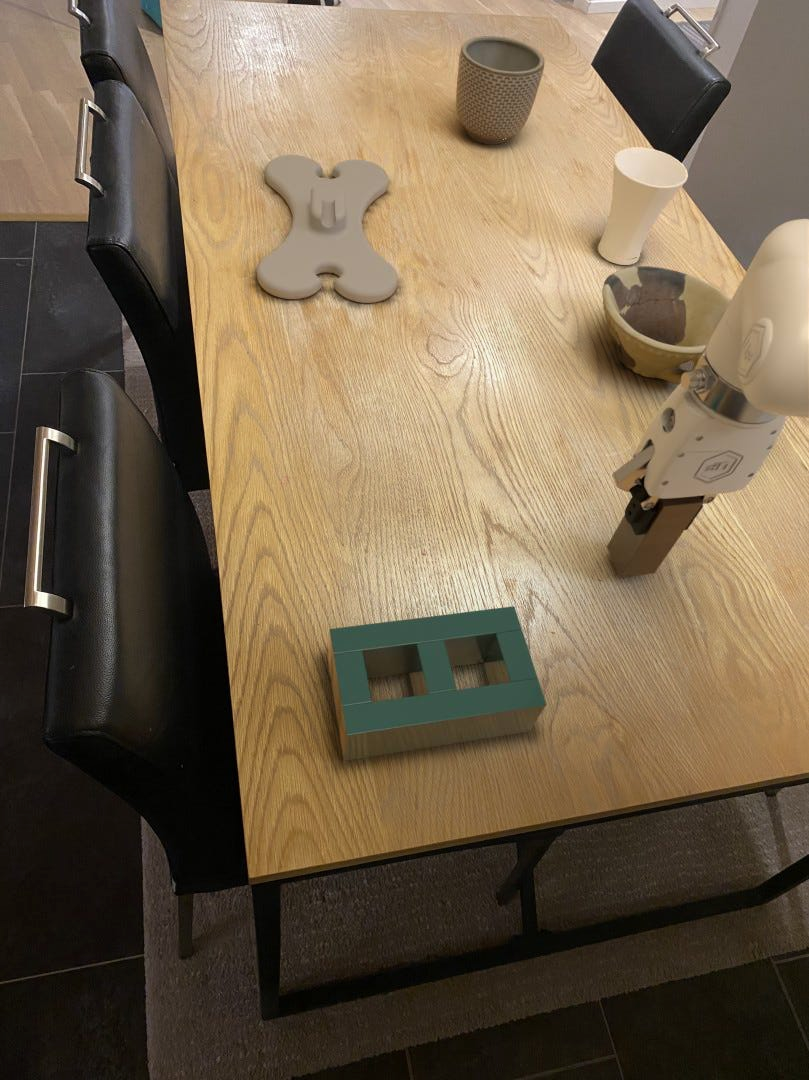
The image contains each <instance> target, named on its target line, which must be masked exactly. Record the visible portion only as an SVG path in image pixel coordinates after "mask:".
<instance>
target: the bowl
mask: <svg viewBox="0 0 809 1080" xmlns="http://www.w3.org/2000/svg"><path fill="white" fill-rule="evenodd" d="M601 290H602V291H601V292H602V295H601V297H602V305H603V311H604V318H605V321H606V325H607V326H608V329H609V331H610V332H609V333H610V334H611V336H612V337H613V338H614V339H615V341H616V343H617V347H616V352H617V353H616V354H617V357H618V359H619V361H620V362H621V363H622V364H623V365H624V366H625V367H626V368H627V369H629V370H632V372H633V373H635V374H638V375H640V376H643V377H645V378H657V379H660V380H664V381H666V382H669V383H672V384H675V385H679V384H680V383H681V377H682V375H683V373H684V372H691V371H692V370H693V369H694V367H695V365H696V364H697V362H698V360H699V358H700V356H701V354H702V353H703V351H704V349H705V347H706V345H707V343H708V341H709V340H710V338H711V336H712V334H713V332H714V330H715V329H716V327H717V325H718V323H719V321H720V319H721V318H722V316H723V314H724V312H725V310H726V308H727V307H728V305H729V303H730V301H731V299H732V298H730V297H728V295H726V294H725V293H724V292H723V291H721V290H720V289H718V288H717V287H715V286H713V285H711V284H709V283H707V282H706V281H704V280H701V279H699V278H698V277H696V276H694V275H690V274H687V273H684V272H681V271H678V270H674V269H669V268H664V267H660V266H658V267H657V266H650V265H648V266H647V265H642V266H641V265H639V266H631V267H625V268H622V269H620V270H617V271H615V272H613V273H612V274H610V275H608V276H607V278H605V280H604V281H603V286H602V289H601ZM690 361H692V363H693V367H692V369H691V370H686V369H683V368H680V365H683V364H685V363H687V362H690Z"/></svg>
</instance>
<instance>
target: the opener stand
mask: <svg viewBox="0 0 809 1080" xmlns="http://www.w3.org/2000/svg"><path fill="white" fill-rule="evenodd" d="M517 613H518V612H517V610H516V607H515V605H512V606H505V607H504V606H503V607H496V608H489V609H488V608H487V609H479V610H472V611H465V612H464V611H463V612H455V613H448V614H440V615H431V616H423V617H416V618H407V619H400V620H392V621H383V622H374V623H367V624H359V625H352V626H343V627H336V628H330V629H329V632H328V647H327V664H328V671H329V678H330V683H331V690H332V695H333V703H334V708H335V715H336V721H337V728H338V733H339V739H340V741H339V742H340V746H341V753H342V760H343V761H344V762H346V761H353V760H359V759H366V758H371V757H378V756H383V755H390V754H391V755H392V754H396V753H403V752H409V751H414V750H415V751H416V750H422V749H427V748H434V747H440V746H446V745H453V744H459V743H465V742H471V741H472V742H473V741H478V740H484V739H490V738H497V737H503V736H509V735H514V734H523V733H528V732H530V731H532V728H533V727H534V725H535V724H536V722H537V721H538V719H539V717H540V716H541V714H542V713H543V711H544V709H545V708H546V706H547V702H546V699H545V696H544V694H543V693H544V692H543V690H542V687H541V684H540V681H539V678H538V675H537V672H536V668H535V666H534V663H533V660H532V656H531V653H530V650H529V647H528V644H527V641H526V638H525V634H524V632H523V629H522V626H521V622H520V619H519V616H518V614H517ZM479 664H483V667H484V670H485V674H486V679H487V681H488V685H482V686H475V687H469V688H462V689H457V686H456V681H455V677H454V674H453V669H452V668H456V667H462V666H463V667H465V666H471V665H479ZM405 674H409V681H410V684H411V689H412V694H413V696H406V697H401V698H392V699H386V700H385V699H384V700H379V701H372V695H371V690H370V684H369V680H370V679H376V678H383V677H384V678H385V677H390V676H391V677H392V676H397V675H405Z"/></svg>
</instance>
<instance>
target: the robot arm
mask: <svg viewBox="0 0 809 1080" xmlns="http://www.w3.org/2000/svg"><path fill="white" fill-rule="evenodd" d="M730 299H731V301H730V303H729V305H728V307H727V308H726V310H725V312H724V314H723V316H722V318H721V319H720V321H719V323H718V325H717V327H716V329H715V330H714V332H713V334H712V336H711V338H710V340H709V341H708V343H707V345H706V347H705V349H704V351H703V353H702V354H701V356H700V358H699V360H698V362H697V364H696V365H695V367H694V366H693V368H694V369H693V368H692V369H693V370H692V369H691V370H692V371H691V370H690V371H691V372H684V373H683V375H682V377H681V383H680V384H677V386H676V387H675V389H674V390H673V391H672V393H670V395H669V396H668V397H667V398H666V400H665V401H664V402H663V404H662V405H661V407H660V408H659V410H658V411H657V412H656V413H655V415H654V417H653V418H652V419H651V421H650V423H649V424H648V426H647V428H646V430H645V431H644V433H643V435H642V437H641V438H640V440H639V442H638V444H637V446H636V448H635V450H634V453H633V456H632V458H631V459H630V460H628V461H627V462H625V464H623V465H622V466H620V467H619V468H618V469H616V470H615V471H614V472H613V473H612V474H611V478H612V480H613V482H614V484H615V486H616V488H618V489H619V490H621V491H624V492H626V493H630V496H632V497H631V498H630V499H629V502H628V504H627V505H626V507H625V510H624V515H625V517H626V520H627V522H628V523H630V524H631V527H632V529H633V531H634V533H635V535H642V534H643V533H644V531H645V530H646V528H647V526H648V525H649V523H650V522H651V520H652V518H653V517H654V515H655V513H656V507H655V505H656V504H657V503H658V501H659V500H660V499H661V498H662V499H667V498H681V497H693V496H700V497H701V499H702V501H703V504H702V505H701V507H700V508H699V510H698V511H697V513H696V514H695V515H694V517H693V518H692V520H691V521H690V523H689V524H688V526H687V527H686V529H685V530H684V531H688V529H689V528H690V527H691V526H692V524H693V522H694V521H695V519H696V518H697V516H698V515H699V514H700V513H701V511H702V509H703V507H704V505H707V504H710V503H713V501H715V499H716V497H717V495H720V494H728V493H729V494H730V493H734V492H737V491H741V490H742V489H744V488H746V487H747V486H748V485H749V484H750V483H751V481H752V480H753V479H754V478H755V476H756V475H757V473H758V471H759V470H760V469H761V467H762V466H763V464H764V463H765V461H766V459H767V458H768V457H769V454H770V453H771V452H772V450H773V448H774V446H775V444H776V443H777V442H778V439H779V437H780V435H781V433H782V431H783V428H784V426H785V423H786V421H787V419H788V417H793V418H802V419H803V418H805V419H809V218H799V219H798V218H797V219H792V220H789V221H785V222H783V223H781V224H779V225H778V226H777V227H775V228H774V229H773V230H772V231H770V233H769V234H768V235H767V236H766V237H765V238H764V240H763V241H762V243H761V244H760V246H759V248H758V249H757V251H756V254H755V255H754V257H753V259H752V261H751V263H750V264H749V266H748V268H747V270H746V272H745V274H744V276H743V277H742V279H741V281H740V283H739V285H738V286H737V288H736V290H735V292H734V294H733V296H732V297H731V298H730Z"/></svg>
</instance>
